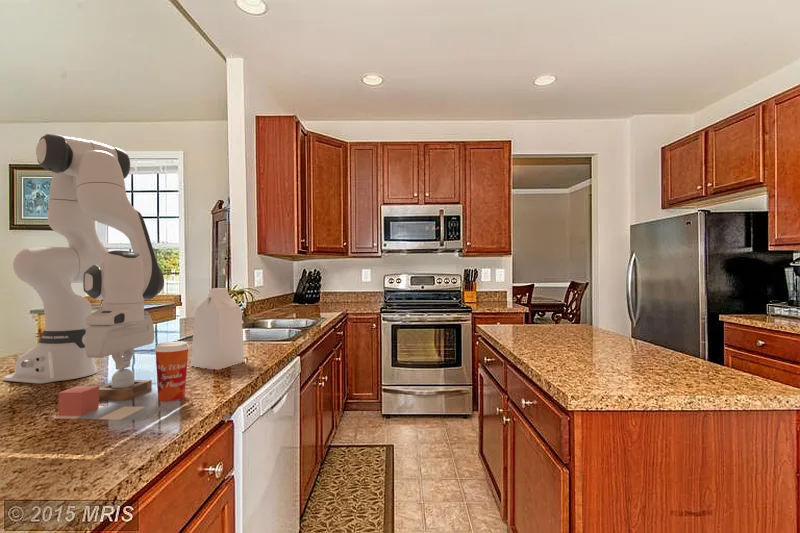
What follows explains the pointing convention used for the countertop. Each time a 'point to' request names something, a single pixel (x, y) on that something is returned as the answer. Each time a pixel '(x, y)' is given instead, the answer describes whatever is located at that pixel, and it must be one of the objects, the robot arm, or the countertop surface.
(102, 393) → the button box
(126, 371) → the dome
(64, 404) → the red block
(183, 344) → the paper cup
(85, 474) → the countertop surface
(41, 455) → the countertop surface
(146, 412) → the track
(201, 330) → the milk
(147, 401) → the countertop surface
